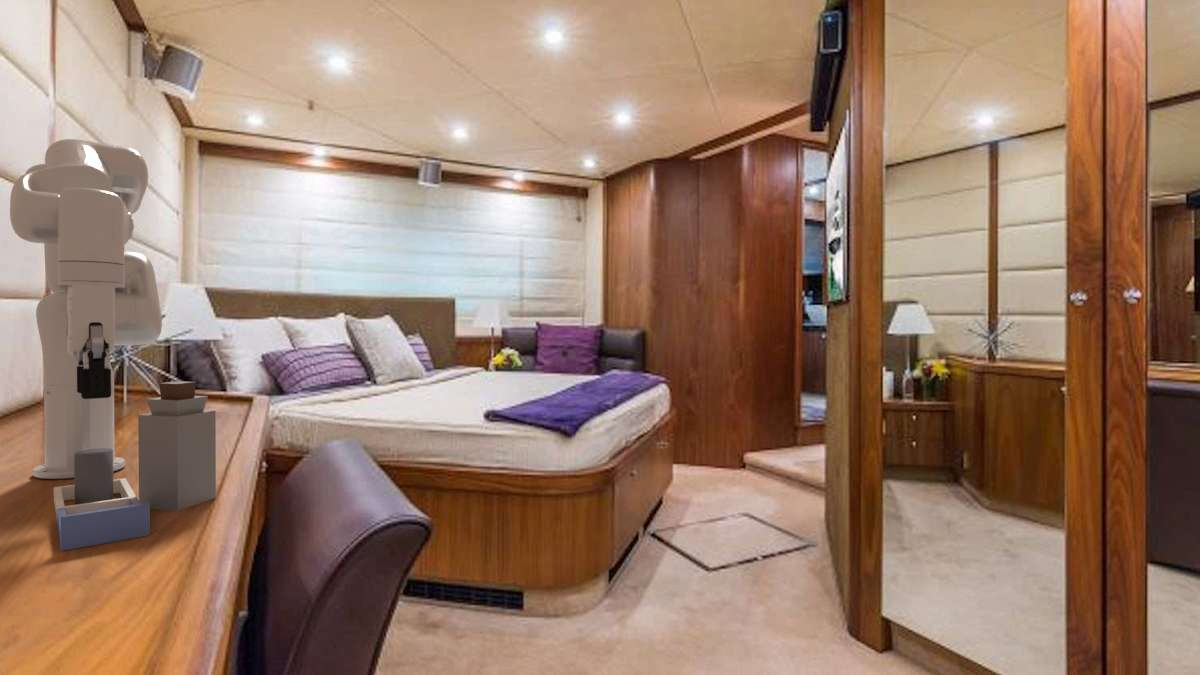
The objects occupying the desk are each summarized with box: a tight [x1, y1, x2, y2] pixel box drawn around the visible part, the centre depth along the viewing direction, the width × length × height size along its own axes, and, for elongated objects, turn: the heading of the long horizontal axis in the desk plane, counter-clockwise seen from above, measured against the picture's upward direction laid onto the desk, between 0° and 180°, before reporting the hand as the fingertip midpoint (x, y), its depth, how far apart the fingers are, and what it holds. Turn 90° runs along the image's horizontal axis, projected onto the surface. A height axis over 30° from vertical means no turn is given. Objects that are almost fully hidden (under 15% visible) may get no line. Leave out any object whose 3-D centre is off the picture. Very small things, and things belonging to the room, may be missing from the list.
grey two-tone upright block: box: [73, 448, 114, 505], centre depth 92 cm, size 4×4×8 cm
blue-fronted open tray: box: [53, 477, 151, 552], centre depth 87 cm, size 26×9×4 cm, turn 42°
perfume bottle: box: [137, 380, 217, 512], centre depth 94 cm, size 7×7×18 cm
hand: (93, 395), depth 91 cm, fingers open, 9 cm apart
